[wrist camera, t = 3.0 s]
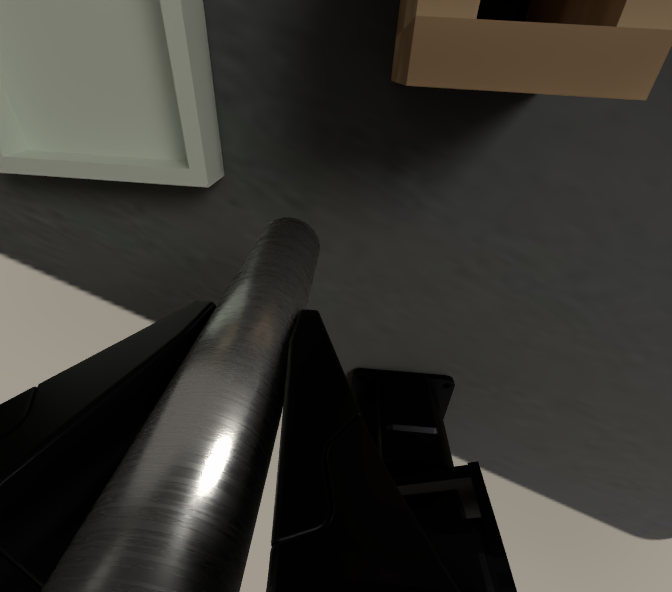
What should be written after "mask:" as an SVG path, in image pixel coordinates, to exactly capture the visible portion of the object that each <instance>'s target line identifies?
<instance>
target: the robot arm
mask: <svg viewBox="0 0 672 592" xmlns="http://www.w3.org/2000/svg"><path fill="white" fill-rule="evenodd" d="M215 308H216V305H215V304H214V303H213V302H205V301H196V302H194V303H192V304H190V305H188V306H186V307H184V308H182V309H180V310H178V311H177V312H175V313H173V314H171V315H169V316H167V317H165V318H163V319H161V320H160V321H158V322H156V323H154V324H152V325H150V326H148V327H146V328H145V329H142V330H141V331H139V332H137V333H135V334H133V335H131V336H129V337H127V338H126V339H124V340H122V341H120V342H118V343H116V344H114V345H112V346H110V347H108V348H106V349H105V350H103V351H101V352H99V353H97V354H95V355H93V356H92V357H90V358H88V359H86V360H84V361H82V362H80V363H78V364H76V365H74V366H73V367H70V368H69V369H67V370H65V371H63V372H61V373H59V374H57V375H56V376H53V377H51V378H50V379H48V380H46V381H44V382H42V383H40V384H39V385H38V387H32V388H31V389H29V390H27V391H25V392H23V393H21V394H19V395H17V396H16V397H14V398H12V399H10V400H8V401H6V402H4V403H2V404H0V592H41V590H42V589H43V587H44V585H45V584H46V582H47V581H48V579H49V577H50V576H51V574H52V572H53V571H54V569H55V568H56V566H57V564H58V563H59V561H60V559H61V558H62V556H63V555H64V553H65V551H66V550H67V548H68V546H69V545H70V543H71V542H72V540H73V538H74V537H75V535H76V534H77V532H78V530H79V529H80V527H81V525H82V524H83V522H84V521H85V519H86V517H87V516H88V514H89V512H90V511H91V509H92V508H93V506H94V504H95V503H96V501H97V499H98V498H99V496H100V495H101V493H102V491H103V490H104V488H105V486H106V485H107V483H108V482H109V480H110V478H111V477H112V475H113V473H114V472H115V470H116V469H117V467H118V465H119V464H120V462H121V461H122V459H123V457H124V456H125V454H126V452H127V451H128V449H129V448H130V446H131V444H132V443H133V441H134V439H135V438H136V436H137V435H138V433H139V431H140V430H141V428H142V426H143V425H144V423H145V422H146V420H147V418H148V417H149V415H150V413H151V412H152V410H153V409H154V407H155V405H156V404H157V402H158V401H159V399H160V397H161V396H162V394H163V392H164V391H165V389H166V388H167V386H168V384H169V383H170V381H171V379H172V378H173V376H174V375H175V373H176V371H177V370H178V368H179V366H180V365H181V363H182V362H183V360H184V358H185V357H186V355H187V353H188V352H189V350H190V349H191V347H192V345H193V344H194V342H195V341H196V339H197V337H198V336H199V334H200V332H201V331H202V329H203V328H204V326H205V324H206V323H207V321H208V319H209V318H210V316H211V315H212V313H213V311H214V310H215ZM360 376H362V377H360ZM445 383H447V384H445ZM454 387H455V384H454V380H453V378H452V377H450V376H446V375H435V374H423V373H411V372H399V371H388V370H376V369H364V368H358V369H356V370H355V371H354V372H353V379H352V388H350V386H349V383H348V381H347V379H346V376H345V374H344V371H343V369H342V367H341V364H340V362H339V359H338V357H337V355H336V352H335V350H334V347H333V345H332V343H331V340H330V338H329V335H328V333H327V331H326V328H325V326H324V323H323V321H322V319H321V316H320V314H319V312H318V311H317V310H307V309H302V310H301V311H300V312H299V315H298V318H297V321H296V324H295V327H294V330H293V332H292V335H291V339H290V342H289V349H288V360H287V371H286V382H285V394H284V405H283V416H282V428H281V440H280V450H279V461H278V462H279V463H278V472H277V484H276V495H275V506H274V518H273V529H272V540H271V546H272V548H271V552H270V562H269V572H268V581H267V589H266V592H517V590H516V587H515V583H514V580H513V577H512V573H511V569H510V566H509V563H508V559H507V556H506V552H505V549H504V546H503V543H502V539H501V536H500V532H499V529H498V526H497V522H496V519H495V516H494V512H493V509H492V506H491V503H490V499H489V496H488V493H487V490H486V486H485V483H484V480H483V476H482V473H481V470H480V466H479V463H478V462H470V463H468V465H463V466H456V467H454V465H453V461H452V456H451V452H450V447H449V443H448V439H447V434H446V430H445V426H444V421H443V419H444V416H445V413H446V410H447V407H448V404H449V401H450V398H451V395H452V392H453V389H454Z"/></svg>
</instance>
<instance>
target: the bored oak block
mask: <svg viewBox="0 0 672 592" xmlns="http://www.w3.org/2000/svg"><path fill="white" fill-rule="evenodd" d="M479 4H480V0H400V6H399V15H398V24H397V32H396V41H395V49H394V58H393V66H392V75H391V81H393V82H396V83H399V84H403V85H406V86H420V87H436V88H452V89H469V90H485V91H501V92H518V93H534V94H550V95H567V96H583V97H599V98H616V99H632V100H646V99H647V97H648V95H649V93H650V91H651V89H652V86H653V84H654V82H655V80H656V78H657V76H658V74H659V72H660V69H661V67H662V65H663V63H664V61H665V59H666V57H667V55H668V52H669V50H670V48H671V46H672V0H531V1H530V5H529V8H528V12H527V16H526V19H525V22H521V21H503V20H485V19H476V18H477V13H478V9H479Z"/></svg>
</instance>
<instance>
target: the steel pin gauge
mask: <svg viewBox="0 0 672 592" xmlns="http://www.w3.org/2000/svg"><path fill="white" fill-rule="evenodd" d="M319 253H320V243H319V239H318V236H317V234H316V233H315V231H314V230H313V229H312V228H311V227H310V226H309V225H308V224H307V223H305V222H303V221H301V220H299V219H296V218H290V217H284V218H279V219H276V220H274V221H272V222H270V223H269V224H268V225H267V226H266V227H265V229H264V230H263V232H262V233H261V235H260V237H259V238H258V240H257V242H256V243H255V245H254V246H253V248H252V250H251V251H250V253H249V255H248V256H247V258H246V259H245V261H244V263H243V264H242V266H241V268H240V269H239V271H238V272H237V274H236V276H235V277H234V279H233V280H232V282H231V284H230V285H229V287H228V289H227V290H226V292H225V293H224V295H223V297H222V298H221V300H220V302H219V303H218V305H217V306H216V308H215V310H214V311H213V313H212V315H211V316H210V318H209V319H208V321H207V323H206V324H205V326H204V328H203V329H202V331H201V332H200V334H199V336H198V337H197V339H196V341H195V342H194V344H193V345H192V347H191V349H190V350H189V352H188V353H187V355H186V357H185V358H184V360H183V362H182V363H181V365H180V366H179V368H178V370H177V371H176V373H175V375H174V376H173V378H172V379H171V381H170V383H169V384H168V386H167V388H166V389H165V391H164V392H163V394H162V396H161V397H160V399H159V401H158V402H157V404H156V405H155V407H154V409H153V410H152V412H151V413H150V415H149V417H148V418H147V420H146V422H145V423H144V425H143V426H142V428H141V430H140V431H139V433H138V435H137V436H136V438H135V439H134V441H133V443H132V444H131V446H130V448H129V449H128V451H127V452H126V454H125V456H124V457H123V459H122V461H121V462H120V464H119V465H118V467H117V469H116V470H115V472H114V473H113V475H112V477H111V478H110V480H109V482H108V483H107V485H106V486H105V488H104V490H103V491H102V493H101V495H100V496H99V498H98V499H97V501H96V503H95V504H94V506H93V508H92V509H91V511H90V512H89V514H88V516H87V517H86V519H85V521H84V522H83V524H82V525H81V527H80V529H79V530H78V532H77V534H76V535H75V537H74V538H73V540H72V542H71V543H70V545H69V546H68V548H67V550H66V551H65V553H64V555H63V556H62V558H61V559H60V561H59V563H58V564H57V566H56V568H55V569H54V571H53V572H52V574H51V576H50V577H49V579H48V581H47V582H46V584H45V585H44V587H43V589H42V590H41V592H239V591H240V587H241V582H242V578H243V574H244V570H245V566H246V561H247V557H248V553H249V549H250V544H251V540H252V536H253V532H254V528H255V523H256V519H257V515H258V510H259V506H260V502H261V498H262V493H263V489H264V485H265V481H266V477H267V473H268V468H269V464H270V460H271V456H272V451H273V447H274V442H275V438H276V434H277V430H278V426H279V421H280V418H281V413H282V409H283V405H284V394H285V382H286V371H287V360H288V349H289V342H290V339H291V335H292V332H293V330H294V327H295V324H296V321H297V318H298V315H299V312H300V311H301V310H302V309H306V308H307V303H308V299H309V295H310V291H311V286H312V282H313V278H314V274H315V269H316V265H317V261H318V257H319Z"/></svg>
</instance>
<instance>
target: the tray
mask: <svg viewBox="0 0 672 592" xmlns="http://www.w3.org/2000/svg"><path fill="white" fill-rule="evenodd" d="M0 173H11V174H25V175H39V176H53V177H68V178H82V179H96V180H110V181H124V182H138V183H152V184H166V185H180V186H195V187H210V186H211V185H213V184H214V183H215V182H217V181H218V180H219V179H221V178H222V177H223V176H224V168H223V160H222V152H221V144H220V136H219V127H218V119H217V111H216V103H215V95H214V87H213V79H212V70H211V62H210V54H209V46H208V38H207V30H206V22H205V13H204V5H203V0H0Z"/></svg>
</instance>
